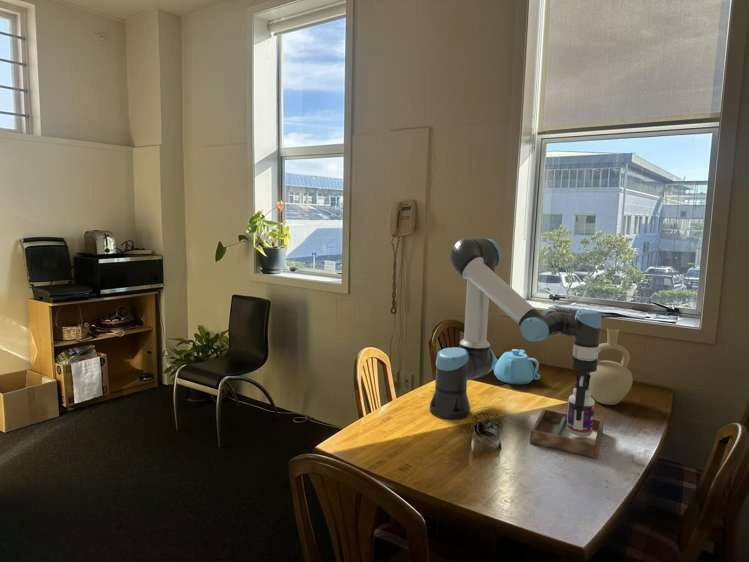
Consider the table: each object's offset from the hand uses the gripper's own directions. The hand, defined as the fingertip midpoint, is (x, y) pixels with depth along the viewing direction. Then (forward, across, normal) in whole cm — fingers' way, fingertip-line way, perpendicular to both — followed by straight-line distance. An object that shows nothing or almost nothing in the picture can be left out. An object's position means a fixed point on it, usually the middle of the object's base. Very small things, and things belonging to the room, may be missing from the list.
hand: (579, 424), depth 167 cm
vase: (+6, +44, -6) cm, 45 cm away
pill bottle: (+3, 0, 0) cm, 3 cm away
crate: (+6, 0, +3) cm, 7 cm away
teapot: (+6, +53, +34) cm, 63 cm away
